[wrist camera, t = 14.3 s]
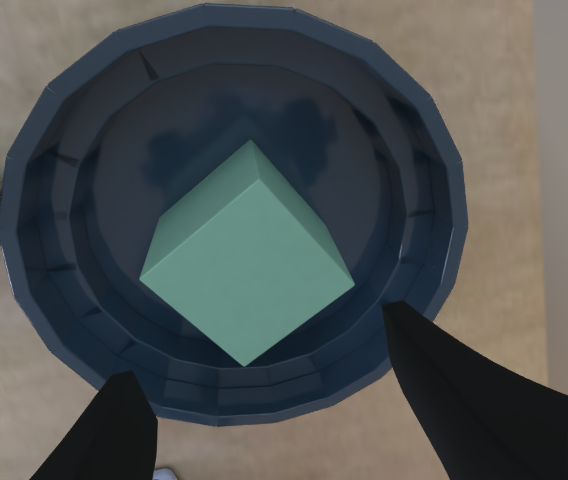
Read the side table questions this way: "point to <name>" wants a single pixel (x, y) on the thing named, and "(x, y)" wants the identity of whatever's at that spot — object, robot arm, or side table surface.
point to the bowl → (197, 166)
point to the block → (245, 257)
